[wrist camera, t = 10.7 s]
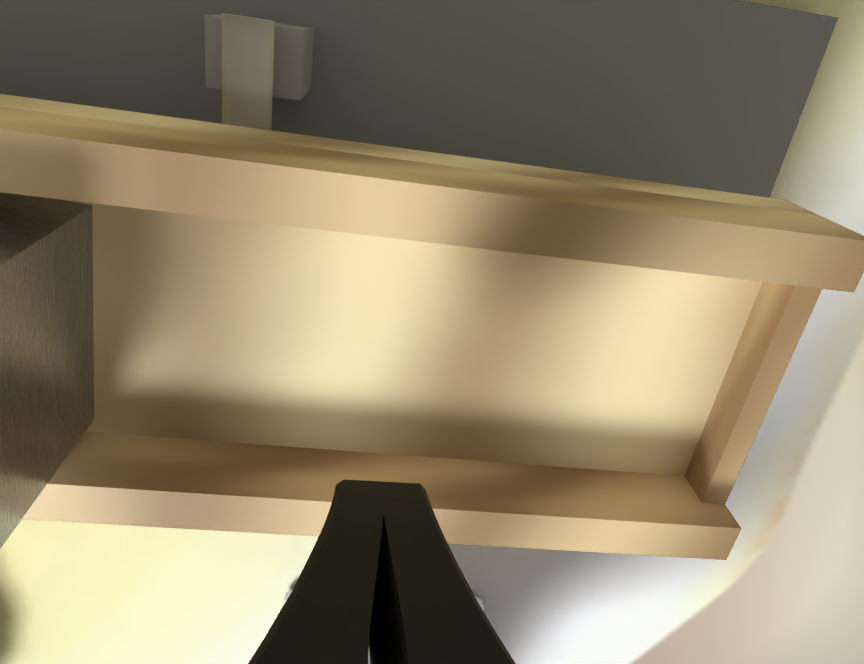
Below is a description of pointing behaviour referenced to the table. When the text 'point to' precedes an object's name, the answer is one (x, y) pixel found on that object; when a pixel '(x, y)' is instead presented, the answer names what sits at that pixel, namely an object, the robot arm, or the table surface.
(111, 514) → the balance beam
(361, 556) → the robot arm
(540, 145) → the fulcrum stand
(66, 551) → the table surface
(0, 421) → the steel block
